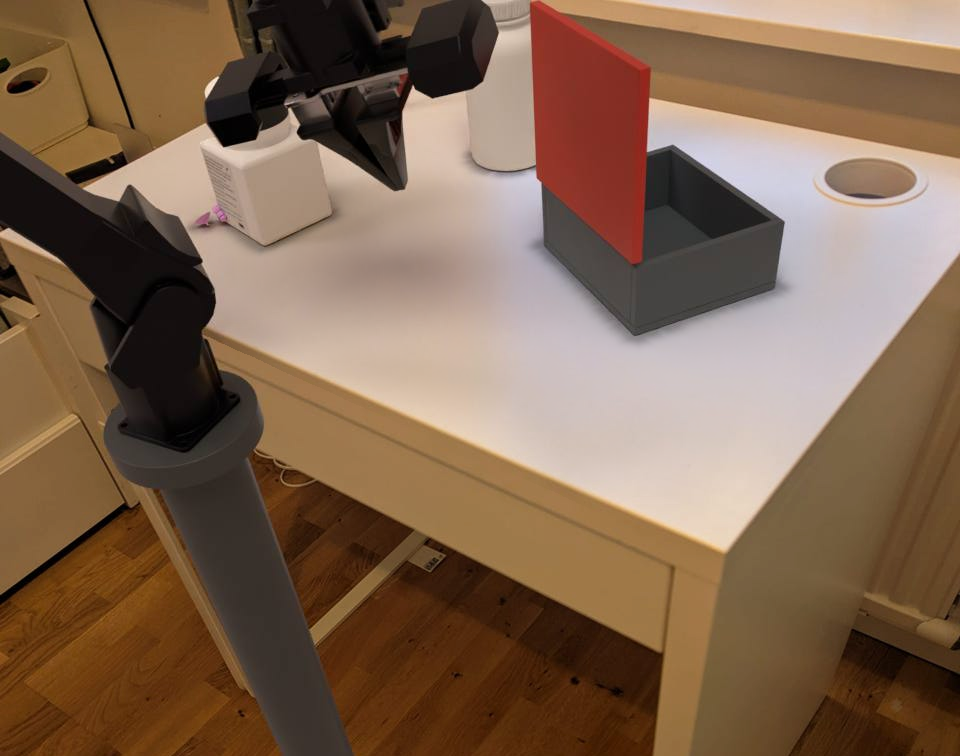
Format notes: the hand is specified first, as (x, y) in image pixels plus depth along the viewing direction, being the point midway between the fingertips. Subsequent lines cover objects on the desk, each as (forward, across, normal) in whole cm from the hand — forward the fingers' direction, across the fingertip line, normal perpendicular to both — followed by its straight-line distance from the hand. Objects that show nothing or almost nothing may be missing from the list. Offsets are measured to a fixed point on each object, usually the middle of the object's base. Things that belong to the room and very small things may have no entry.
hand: (401, 186), depth 64 cm
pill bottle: (+17, +3, -28) cm, 33 cm away
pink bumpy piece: (+8, +27, -13) cm, 31 cm away
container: (+10, +22, -14) cm, 28 cm away
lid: (+3, -11, -7) cm, 14 cm away
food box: (+17, -13, -8) cm, 23 cm away
